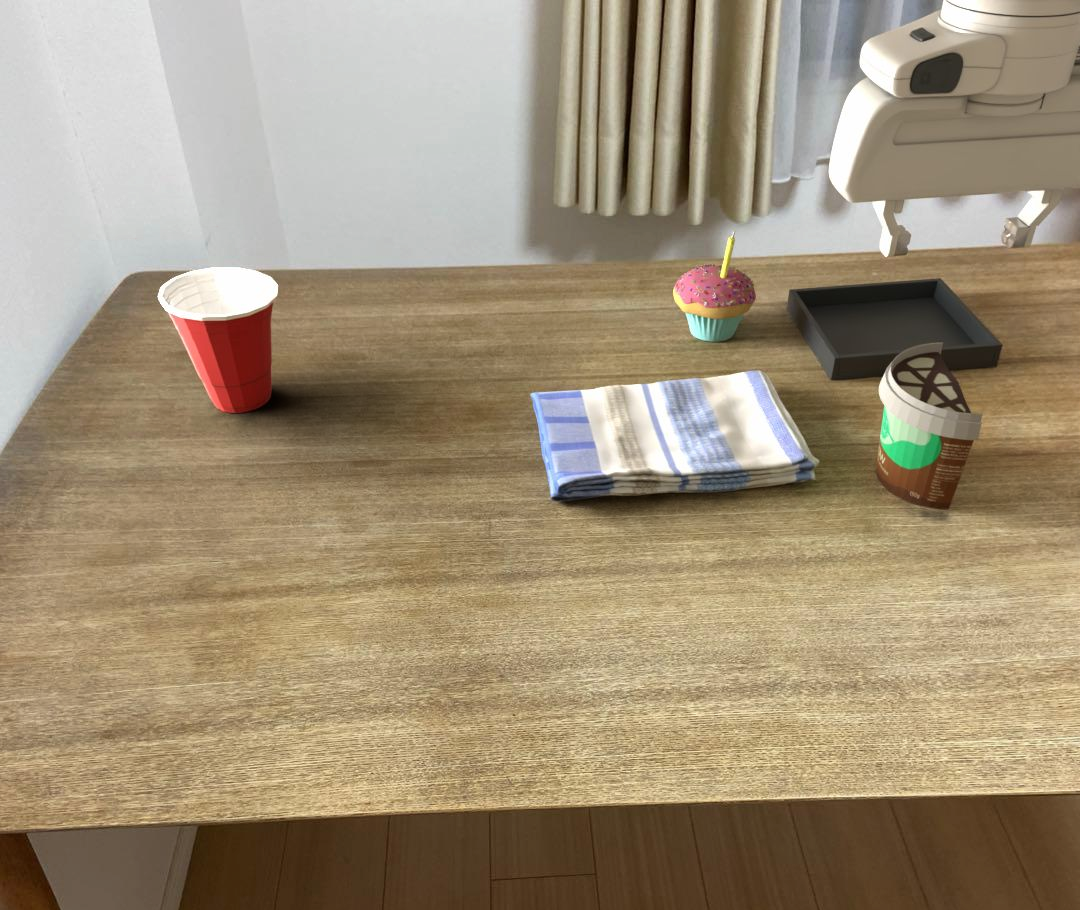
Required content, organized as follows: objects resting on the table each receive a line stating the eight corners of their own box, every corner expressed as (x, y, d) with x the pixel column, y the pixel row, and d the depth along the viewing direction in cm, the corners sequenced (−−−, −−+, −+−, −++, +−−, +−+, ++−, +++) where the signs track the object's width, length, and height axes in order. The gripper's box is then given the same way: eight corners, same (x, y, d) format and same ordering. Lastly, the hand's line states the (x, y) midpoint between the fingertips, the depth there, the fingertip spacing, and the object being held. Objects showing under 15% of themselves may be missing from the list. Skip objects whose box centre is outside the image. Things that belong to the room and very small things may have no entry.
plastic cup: (308, 413, 99) (285, 301, 92) (195, 437, 97) (161, 323, 89) (290, 361, 107) (267, 254, 100) (184, 382, 105) (153, 273, 97)
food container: (849, 436, 94) (868, 340, 88) (916, 436, 94) (941, 339, 87) (879, 520, 85) (903, 418, 78) (954, 520, 84) (984, 418, 78)
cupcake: (767, 335, 109) (781, 227, 101) (707, 359, 105) (717, 249, 98) (713, 306, 114) (723, 201, 107) (654, 327, 111) (660, 221, 103)
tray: (935, 298, 114) (940, 277, 113) (996, 366, 103) (1003, 344, 101) (786, 310, 113) (789, 289, 112) (830, 380, 102) (834, 358, 100)
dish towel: (820, 487, 88) (825, 461, 86) (550, 511, 87) (550, 484, 85) (765, 384, 101) (768, 359, 100) (530, 403, 100) (529, 378, 98)
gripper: (1128, 29, 70) (1066, 223, 79) (839, 44, 69) (808, 240, 77) (1182, 53, 65) (1109, 257, 74) (872, 71, 64) (836, 276, 73)
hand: (953, 249), depth 76 cm, fingers open, 8 cm apart
